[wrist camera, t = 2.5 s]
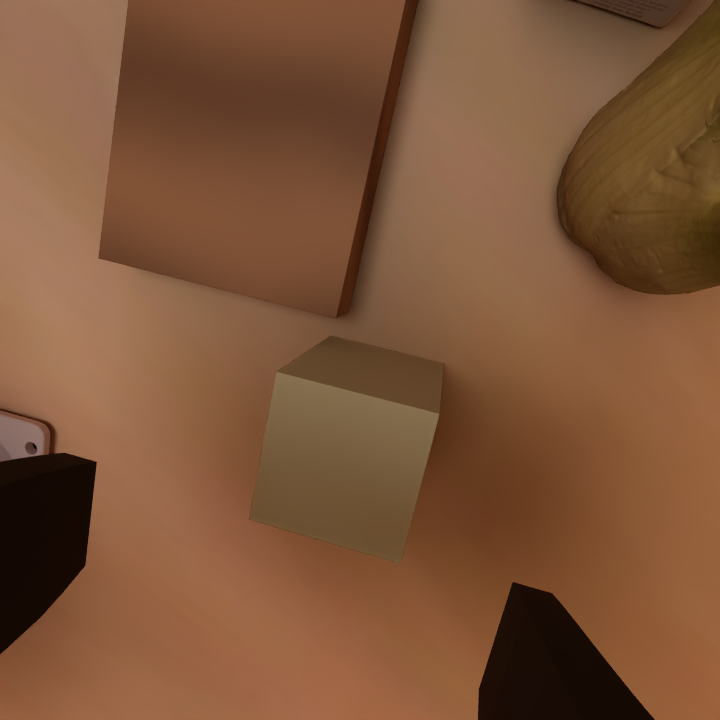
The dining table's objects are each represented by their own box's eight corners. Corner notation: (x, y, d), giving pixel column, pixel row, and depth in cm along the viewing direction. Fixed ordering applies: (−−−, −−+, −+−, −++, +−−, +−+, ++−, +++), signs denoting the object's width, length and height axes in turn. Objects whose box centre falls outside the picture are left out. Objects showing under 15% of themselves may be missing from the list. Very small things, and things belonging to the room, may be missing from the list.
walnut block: (351, 310, 19) (336, 318, 17) (141, 257, 20) (98, 258, 18) (421, -4, 17) (416, -48, 14) (182, -47, 18) (139, -94, 15)
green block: (416, 470, 19) (400, 563, 13) (309, 441, 20) (248, 519, 14) (443, 363, 18) (439, 413, 13) (330, 335, 19) (276, 371, 13)
